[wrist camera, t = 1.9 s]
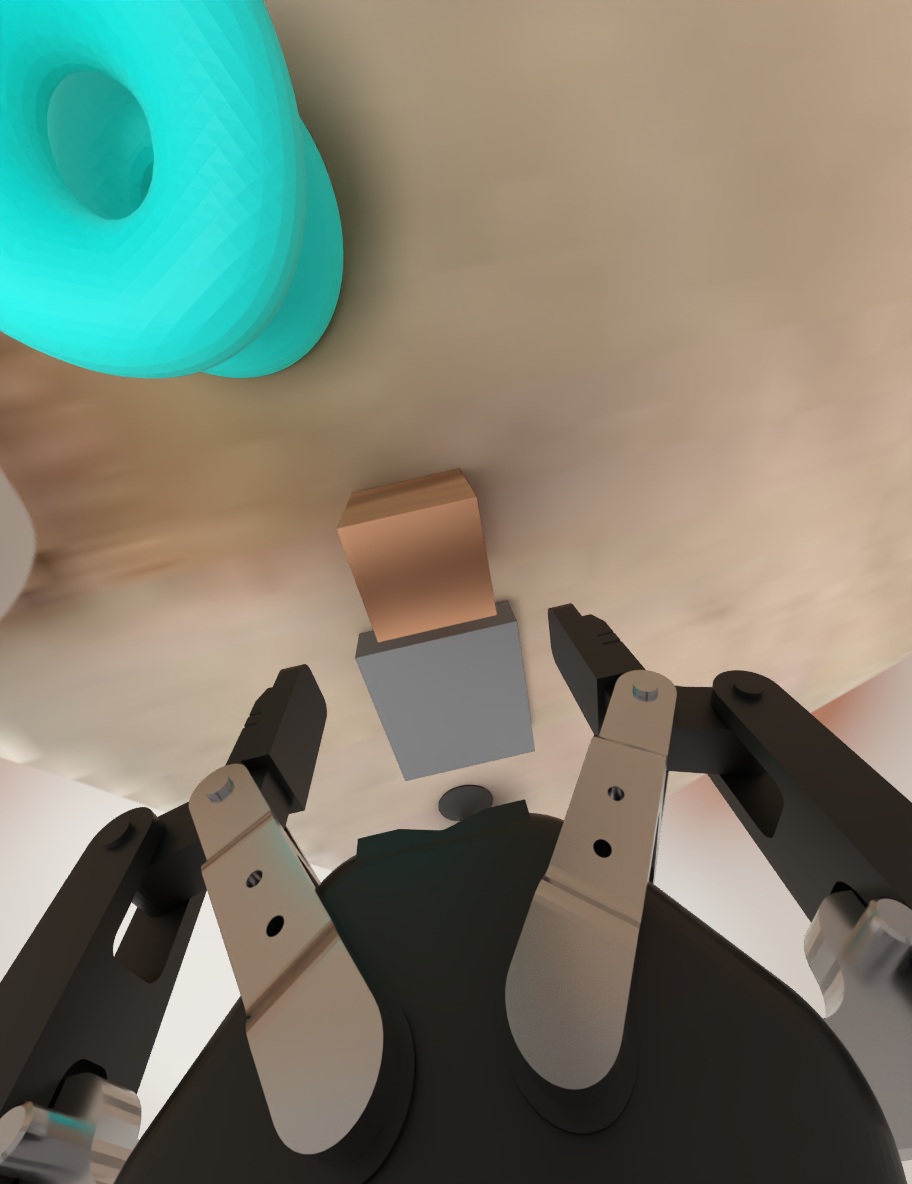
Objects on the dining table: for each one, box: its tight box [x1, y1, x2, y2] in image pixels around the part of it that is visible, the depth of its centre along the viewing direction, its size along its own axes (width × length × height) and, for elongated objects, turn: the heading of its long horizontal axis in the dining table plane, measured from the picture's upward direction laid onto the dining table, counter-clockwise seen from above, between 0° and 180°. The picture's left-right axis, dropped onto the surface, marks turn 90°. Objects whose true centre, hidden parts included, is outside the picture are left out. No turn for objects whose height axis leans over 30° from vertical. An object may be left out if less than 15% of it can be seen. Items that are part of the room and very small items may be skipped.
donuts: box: [0, 0, 344, 378], centre depth 12 cm, size 10×10×10 cm
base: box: [355, 600, 535, 781], centre depth 28 cm, size 12×10×3 cm
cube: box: [337, 468, 497, 642], centre depth 21 cm, size 6×6×6 cm
